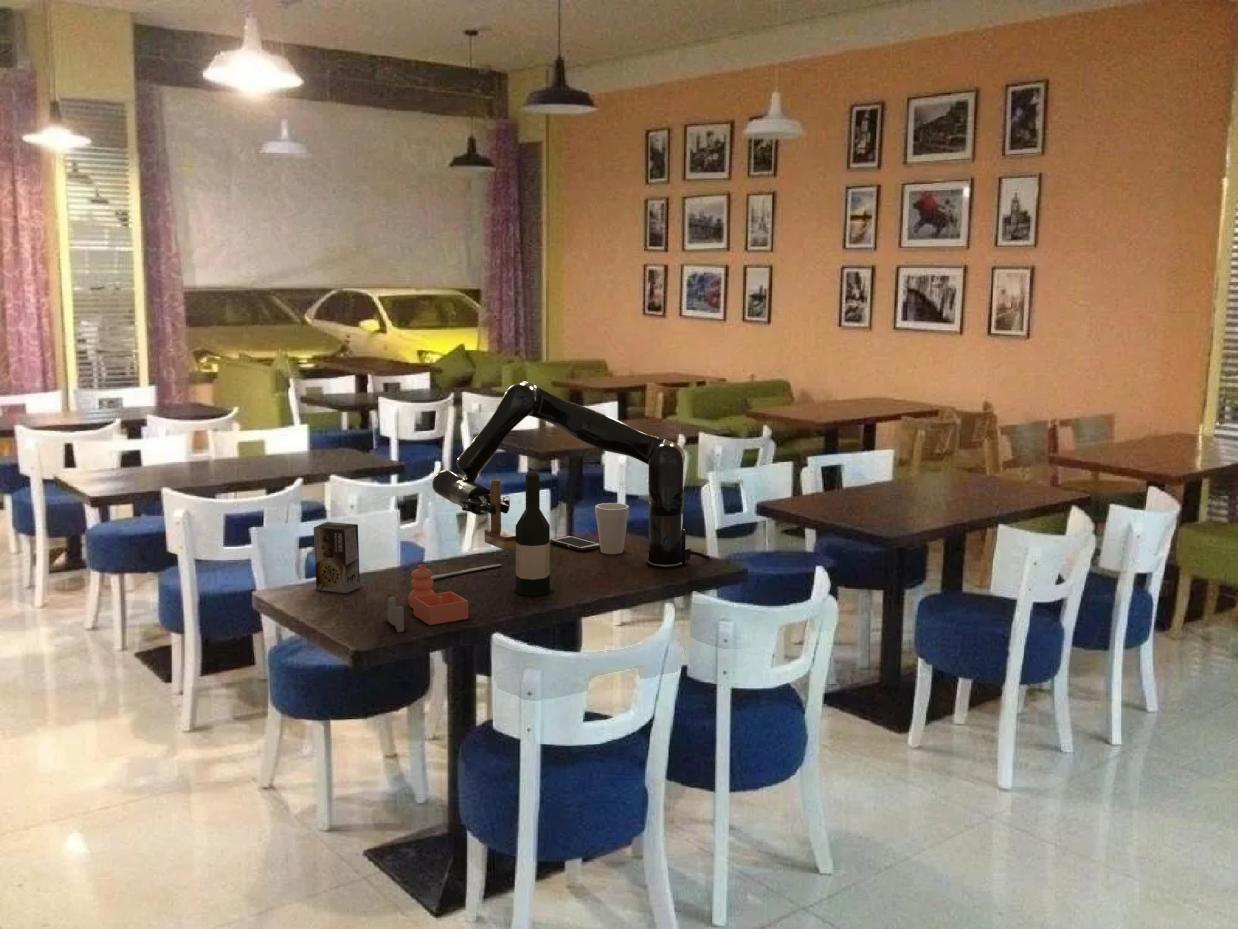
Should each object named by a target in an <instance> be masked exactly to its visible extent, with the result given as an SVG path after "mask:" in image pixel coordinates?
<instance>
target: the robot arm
mask: <svg viewBox="0 0 1238 929" xmlns="http://www.w3.org/2000/svg"><path fill="white" fill-rule="evenodd" d="M527 417H532V418H536V419H539V420H541V421H543V422H547V423H549V424H551V425H553V426H554V427H557V429H560V430H561V431H562V432H564V433H565V434H567V435H568V436H570V437H571V438H573V439H575V440H576V441H578V442H581V443H583V444H585V445H587V446H590V447H592V448H595V449H596V450H600V451H604V452H607V453H612V454H618V455H623V456H627V457H630V458H633V459H635V460H637V461H640V462H642V463H644V464H645V465H648V488H647V489H648V540H647V541H648V542H647V544H648V545H647V546H648V547H647V551H646V556H647V565H649V566H651V567H655V568H661V569H671V568H678V567H681V566H683V565H686V561H690V560H691V555H692V556H693V555H694V556H698V557H701V558H703V559H705V560H709V559H710V556H709V555H706V554H704V553H702V552H698V551H691V548H689V547H687V546H686V542H687V541H686V539H687V538H686V536H687V530H686V529H684V467H685V466H684V465H685V459H686V457H685V452H684V450H683V448H682V447H681V446H680V445H679V444H678V443H676V442H674V441H671V440H668V439H664V438H660V437H658V436H653V435H650V434H647V433H644V432H642V431H640V430H638V429H635V428H634V427H633V426H632V427H631V426H630V425H627V424H626V423H624V422H621V421H620V420H617V419H616V418H613V417H611V416H609V415H607V414H604V413H601V412H600V411H596V410H594V409H592V408H589V407H586V406H584V405H581V404H577V403H575V402H572V401H569V400H565V399H562V398H560V397H558V396H556V395H554V394H552V393H550V392H549V391H547V390H545V389H543V388H541V387H539V386H537V385H536V384H534V383H531V382H529V381H519V382H515V383H514V384H512V385H510V386H509V387H508V388H507V389H506V391H505V392H504V395H503V397H502V399H501V401H500V402H499V404H498V406H497V407H496V410H495V411H494V413H493V414H492V416H491V417H490V419H489V420H488V421H487V423H485V425H484V426H483V428H482V429H481V430H480V431H479V432H478V433H477V435H476V436H475V437H474V438H473V439H472V441H471V442H470V443H469V444H468V445H467V447H466V448H465V449H464V450H463V452H462V453H461V454H460V455H459V456H458V458H457V459H456V466H457V467H458V469H459V470H460V471H461V472H462V473H463V474H464V476H463V477H460V476H459V475H457V474H455V473H454V472H452V471H450V470H447V469H446V470H445V469H444V470H440V471H439V472H437V473H436V474H435V475H434V477H433V479H432V482H431V485H432V490H433V491H434V493H435V494H437V496H440V497H441V498H444V499H445V500H447V501H449V502H450V503H453V504H454V505H457V506H460V507H461V511H462V512H470V513H472V514H474V515H477V516H481V515H486V514H488V513H489V514H490V515H491V514H492V515H495V514H496V506H494V505H492V504H490V488H488V486H487V487H486V486H485V485H482V484H480V483H477V482H476V481H477V479H478V477H479V475H480V474H481V472H482V471H483V469H484V468H485V467H486V466H487V465H488V463H489V462H490V461H491V459H492V458H493V457H494V456H495V453H497V451H498V449H499V448H500V446H501V445H502V443H503V442H504V440H505V439H506V438H507V437H508V435H509V434H510V432H511V431H513V429H514V428H515V427H516V426H518V425H519V424H520V423H521V422H522V421H523V420H525V418H527ZM510 506H511V498H510V495H505V496H503V497H502V498H501V514H502V513H503V514H508V513H509V511H510Z"/></svg>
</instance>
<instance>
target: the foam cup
mask: <svg viewBox="0 0 1238 929" xmlns="http://www.w3.org/2000/svg"><path fill="white" fill-rule="evenodd" d="M594 507H595V509H594V510H595V513H594V515H595V518H596V524H597V532H598V541H599V542H598V543H599V544H600V547H599V549H600V552H601V553H602V554H606V555H618V554H622V553H623V552H624V547H625V541H626V533H627V527H628V519H629V515H630V506H629V505H628V504H625V503H620V502H603V503H599V504H596V505H595V506H594Z"/></svg>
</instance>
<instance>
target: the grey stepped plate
mask: <svg viewBox="0 0 1238 929" xmlns="http://www.w3.org/2000/svg"><path fill="white" fill-rule="evenodd" d="M396 604H397V600H396V597H395V596H389V597H387V612H386V617H387V620H388V622H389V624H390V625H392V626H394V627H395V630H396V632H397V633H403V632H405V614H404V611H405V610H404V609H405V608H404V605H396Z"/></svg>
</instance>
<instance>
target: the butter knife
mask: <svg viewBox="0 0 1238 929" xmlns="http://www.w3.org/2000/svg"><path fill="white" fill-rule="evenodd" d="M501 566H502V564H490V565H484V566H477V567H472V568H466V569H462V570H458V571H452V572H447V573H442V574H441V573H440V574H435V575H433V574H432V576H431V577H430V578H432V580H433V581H435V580H438V579H442V578H447V577H451V576H457V575H461V574H464V573H469V572H470V573H471V572H475V571H479V570H480V571H481V570H486V569H490V568H491V569H492V568H495V567H501Z"/></svg>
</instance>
